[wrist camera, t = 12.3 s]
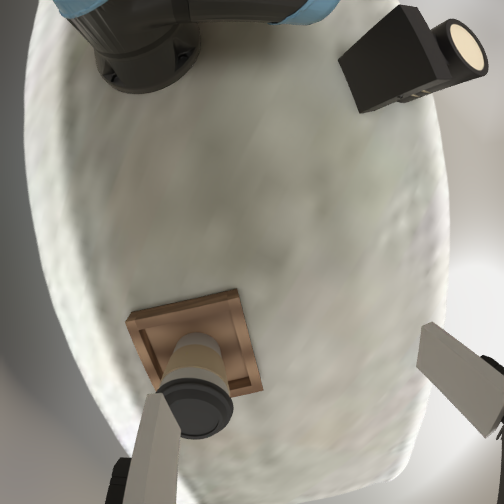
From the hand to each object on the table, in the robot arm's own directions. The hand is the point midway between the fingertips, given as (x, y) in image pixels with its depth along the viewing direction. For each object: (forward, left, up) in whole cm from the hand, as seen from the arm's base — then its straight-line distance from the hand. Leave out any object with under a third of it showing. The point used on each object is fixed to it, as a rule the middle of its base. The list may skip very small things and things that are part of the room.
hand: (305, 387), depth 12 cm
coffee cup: (+12, -10, -27) cm, 31 cm away
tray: (+12, -10, -28) cm, 32 cm away
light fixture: (-22, +27, -28) cm, 45 cm away
